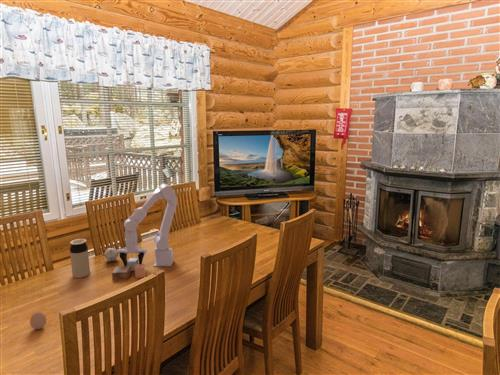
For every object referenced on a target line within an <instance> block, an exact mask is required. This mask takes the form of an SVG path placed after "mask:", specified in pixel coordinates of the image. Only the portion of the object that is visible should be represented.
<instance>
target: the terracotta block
mask: <svg viewBox="0 0 500 375" xmlns="http://www.w3.org/2000/svg"><path fill="white" fill-rule="evenodd" d="M134 275H135V279H136V278H145V277H146V268H145V263H142V264H139V265H135V270H134Z"/></svg>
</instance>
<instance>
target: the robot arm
mask: <svg viewBox="0 0 500 375" xmlns="http://www.w3.org/2000/svg"><path fill="white" fill-rule="evenodd" d="M163 199H165V200H166V202H167V203H166V206H165V211H164V214H163V217H162V220H161V224H160V228H159V230H158V232H157V233H156V235H155V236H154V238H153V240H154V241H153V242H154V243H155V247H154V256H155V259H154V260H155V263H154V264H153V267H172V265H173V263H174V262H175V261H174V249H173V247H169V246H170V243H169V240H170V230H171V227H172V224H173V219H174V216H175V212H176V210H177V206H178V202H179V201H178V198H177V195H176V191H175V189H174V188H173V187H172V186H170V185H169V184H168V183H161V184H160V185H159V186H158V187H157V188H156V189H155V190H154V191H153V193H152V194H151V195H150V196H149V197H148V199H147V200H146V201H145V202H144V204H143V205H142V206H139V207H137V208H135V209H134V210H133V211H134V212H133V213H132V214H131V215H130V216H128V217H127V219H125V221H124V223H123V227H124V232H125V233H124V234H125V235H124V237H125V248H119V249H117V252H118V257H119V258H120V259H121V261H122V263H123V266H127V261H128V254H137V258H138V260H139V264H143V259H144V257H145V255H146V254H147V248H142V247H139V246H138V244H139V243H138V232H137V229H138V225H139V224H141V222H142V221H143V219H144V218H146V217H147V214H148V213H147V212H148V211H149V209H150V208H151V207H152V206H153V205H154V204H155V203H156V202H157V201H158V200H163Z"/></svg>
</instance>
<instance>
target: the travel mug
mask: <svg viewBox="0 0 500 375" xmlns="http://www.w3.org/2000/svg"><path fill="white" fill-rule="evenodd" d="M69 245H70V248H69V253H70V254H69V255H70V264H71V265H70V266H71V273H72V278H75V279H80V278H85V277H87V276H89V275H90V274H91V268H90V258H89V257H90V256H89V248H88V245H87V239H85V238H76V239H73V240H71V241H70V242H69Z"/></svg>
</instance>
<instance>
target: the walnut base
mask: <svg viewBox="0 0 500 375" xmlns="http://www.w3.org/2000/svg"><path fill="white" fill-rule="evenodd" d="M131 272H132V270H131V269H130V266H124V265H123V266H116V267H114V269H113V270H112V272H111V279H112V280H114V281H115V280H117V281H118V280H128V278H129V277H130V275H131Z"/></svg>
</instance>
